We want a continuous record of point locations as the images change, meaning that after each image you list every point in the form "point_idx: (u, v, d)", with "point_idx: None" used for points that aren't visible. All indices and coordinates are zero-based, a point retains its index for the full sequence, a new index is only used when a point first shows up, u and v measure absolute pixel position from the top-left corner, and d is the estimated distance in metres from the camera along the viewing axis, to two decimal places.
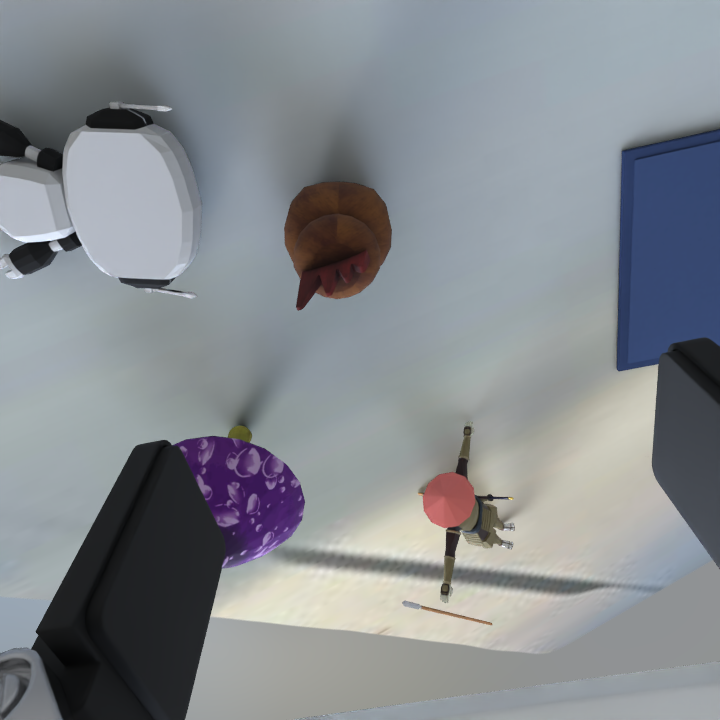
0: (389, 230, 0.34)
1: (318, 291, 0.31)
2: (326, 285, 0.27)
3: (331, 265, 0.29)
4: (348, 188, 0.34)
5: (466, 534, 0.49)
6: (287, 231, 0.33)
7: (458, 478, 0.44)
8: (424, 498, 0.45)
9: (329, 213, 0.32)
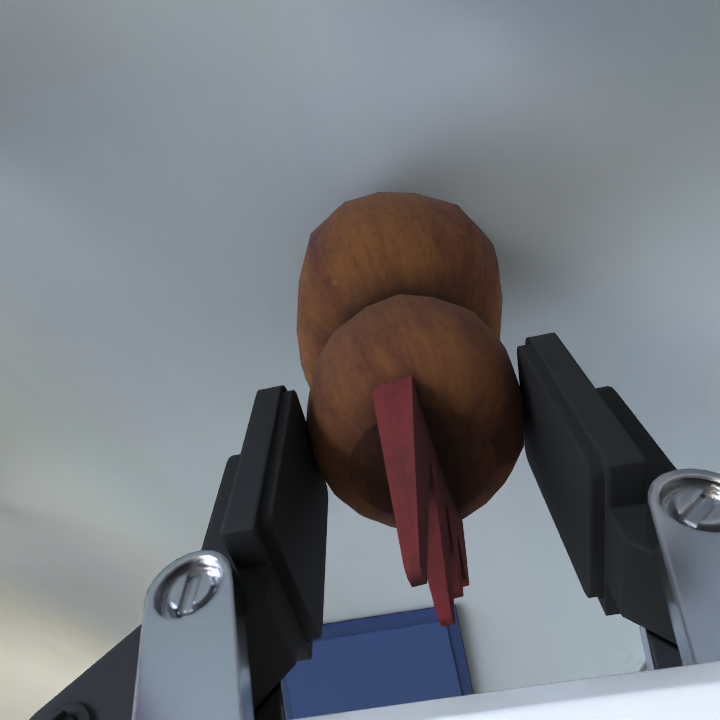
0: None
1: (344, 416, 0.10)
2: (445, 557, 0.08)
3: (438, 466, 0.10)
4: None
5: None
6: (433, 234, 0.13)
7: None
8: None
9: None
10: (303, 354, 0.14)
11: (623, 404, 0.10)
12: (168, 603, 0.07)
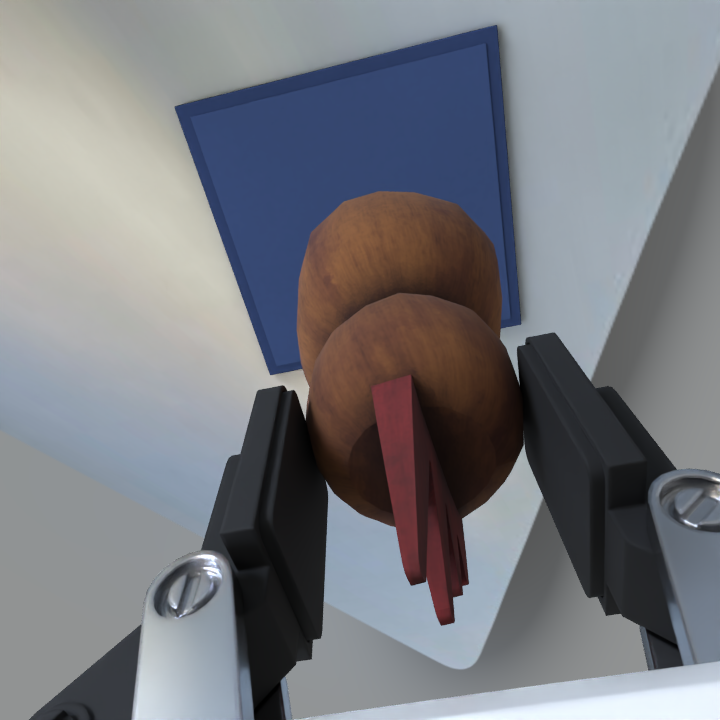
0: None
1: (343, 414, 0.10)
2: (445, 557, 0.08)
3: (438, 465, 0.10)
4: None
5: None
6: (433, 233, 0.13)
7: None
8: None
9: None
10: (303, 353, 0.14)
11: (623, 403, 0.10)
12: (168, 603, 0.07)
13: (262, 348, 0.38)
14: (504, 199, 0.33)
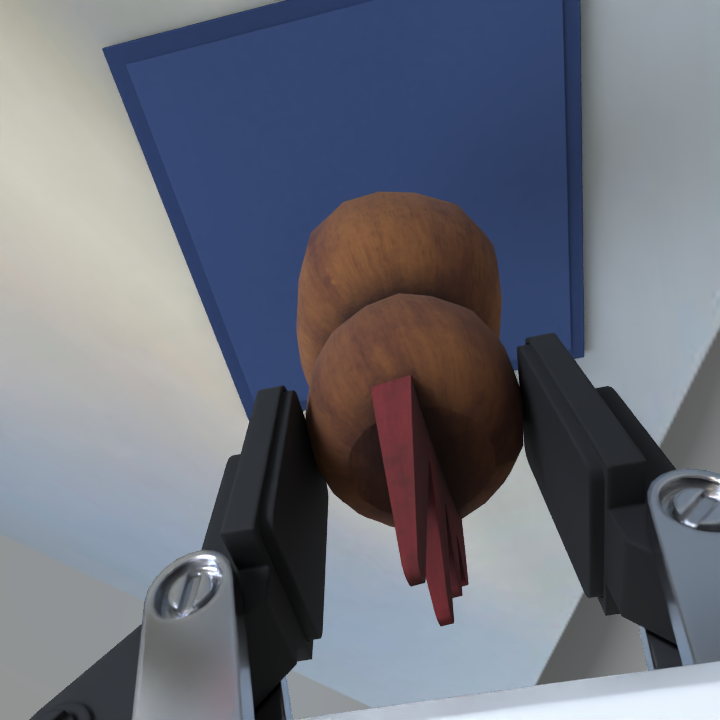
0: None
1: (343, 415, 0.10)
2: (444, 558, 0.08)
3: (437, 465, 0.10)
4: None
5: None
6: (433, 233, 0.13)
7: None
8: None
9: None
10: (302, 353, 0.14)
11: (622, 403, 0.10)
12: (168, 603, 0.07)
13: (237, 387, 0.28)
14: (573, 187, 0.24)
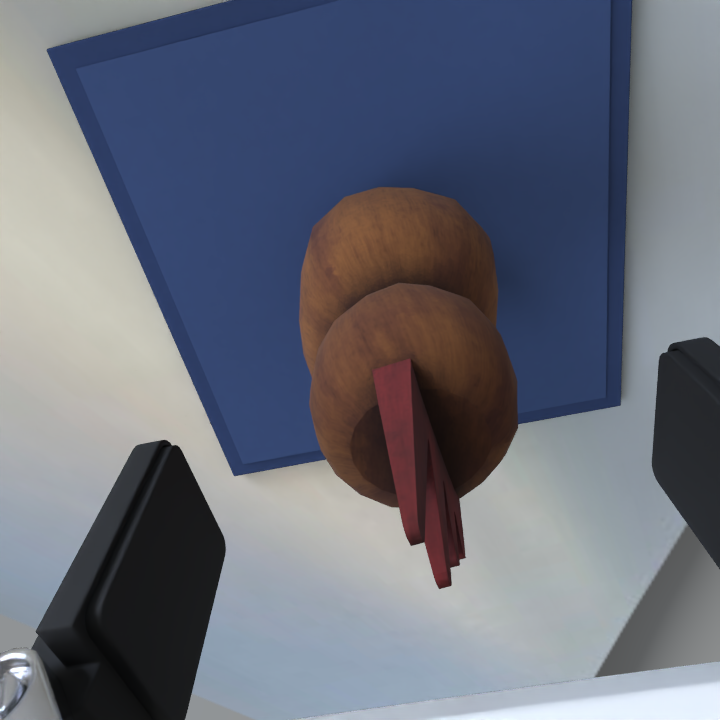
0: None
1: (346, 397, 0.10)
2: (441, 527, 0.08)
3: (436, 445, 0.10)
4: None
5: None
6: (431, 226, 0.13)
7: None
8: None
9: None
10: (305, 343, 0.15)
11: None
12: None
13: (220, 439, 0.25)
14: (615, 214, 0.20)
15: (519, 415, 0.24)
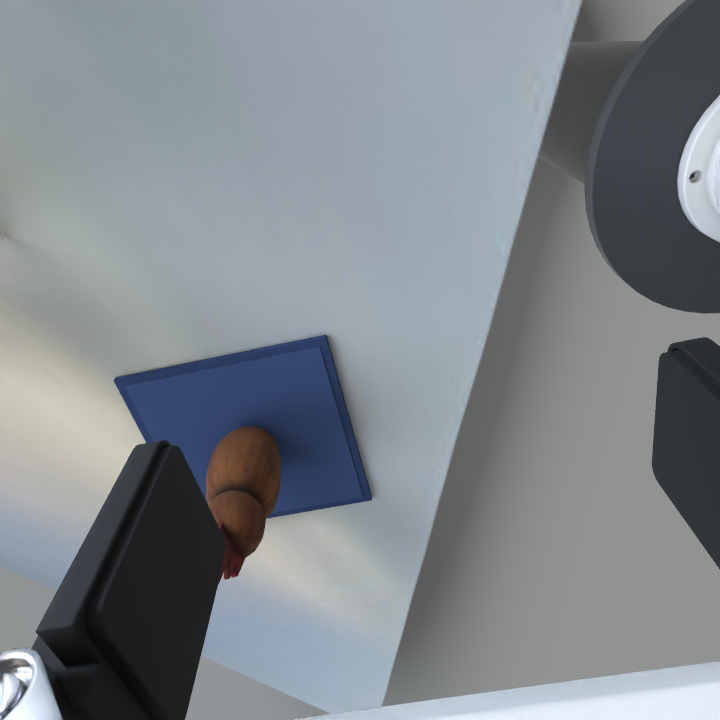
0: None
1: None
2: None
3: (231, 545, 0.38)
4: (279, 487, 0.44)
5: None
6: (244, 467, 0.41)
7: None
8: None
9: (263, 500, 0.42)
10: (207, 499, 0.43)
11: None
12: None
13: None
14: (346, 429, 0.48)
15: (325, 504, 0.52)
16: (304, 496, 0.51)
